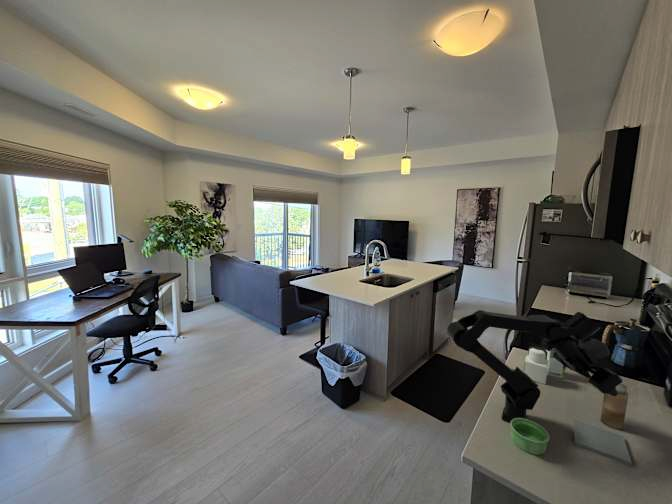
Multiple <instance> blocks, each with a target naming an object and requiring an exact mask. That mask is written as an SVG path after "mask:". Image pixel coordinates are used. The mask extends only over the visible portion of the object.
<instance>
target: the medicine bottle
mask: <svg viewBox="0 0 672 504" xmlns="http://www.w3.org/2000/svg"><path fill="white" fill-rule="evenodd" d="M525 356H526V357H525V359H524V367H523V368H524V369H523V372H524V373H526V374H527V375H528V376H529V377H530V378H531V379H532V380H533V381H534V382H535V383H540V384H542V385H546V383H547V376H548V375H547V369H548V360H547V351H546V349H545V348H543V347H541V346H529V347H528V350H527V354H526V355H525Z"/></svg>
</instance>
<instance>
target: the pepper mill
mask: <svg viewBox="0 0 672 504" xmlns="http://www.w3.org/2000/svg"><path fill="white" fill-rule="evenodd" d="M615 388H616V390H617V393H618V395H617V396H612V395H609V394H603V400H602V406H601V414H600V422H601V423H602V424H603V425H605V426H606V427H608V428H611V429H613V430H617V431H618V430H619V431H621V430H622V431H623V429H624V425H625V417H626V411H627V406H628V400H629V393H628V392H627V390H628V387H627V385H626V384H624V383H623V382H622V383H620V384H619V385H617V386H616V387H615Z"/></svg>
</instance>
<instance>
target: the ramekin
mask: <svg viewBox="0 0 672 504" xmlns="http://www.w3.org/2000/svg"><path fill="white" fill-rule="evenodd" d="M509 423H510V422H509ZM509 426H510V437H511V440H512V442H513V443H514V444H515V445H516V446H517V447H518V448H519V449H521V450H522V451H524V452H526V453H528V454H531V455H536V456H537V455H539V456H541V455H542V454H545V452H546V451H547V446H548V443H549V442H550V434H549V432H548V431H547V430H546V429H545V428H544V427H543V426H541V425H540V424H539V423H537V422H535V421H533V420H530V419H529V418H527V419H524V418H515V419H513V420H512V421H511V423H510V425H509Z"/></svg>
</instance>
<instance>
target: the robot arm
mask: <svg viewBox="0 0 672 504" xmlns="http://www.w3.org/2000/svg"><path fill="white" fill-rule="evenodd" d="M468 328H469V329H468ZM489 328H495V329H503V330H508V331H509V330H510V331H516V332H524V333H527V334H532V336H533V335H534V336H536V337H538V338H541V342H540V347H541V348H543V349H545V350H547V351H551V350H552V349H554V350H555V352H554V354H553V357H554V358H555V359H556V360H557V361H558V362H560V363H561V364H562V365H564V366H565V367H566V368H567V369H569V370H571V371H573V372H575V373H577V374H579V375H581V376H582V377H585V378H587V379H588V383H589V384H590V385H591V386H592V387H593V388H595V389H596V390H597V391H599V392H600V393H601V394H603V395H604V394H609V395H612V396H617V395H618V393H617V390H616V388H615V387H616V386H617V385H619V384H620V383H622V384H623V378H622V377H621V376H620V375H619V374H618V373H616V372H614V371H612V370H611V369H609V368H608V367H601V368H598V367H597V366H596V365H597V364H598V363H599V361H598V360H599V359H601V358H605V357H609V356H610V355H611V353H610V350H609V347H608V345H607V344H606V343H605V342H603V341H601V340H599V339H597V338H593V337H591V336H593V335H594V334H595V333H597V332H598V331H599V330H601V326H600V325H599V323H597V322H596V321H593V320H592V319H591V318H590V317H588V316H587V315H586V314H584V313H582V312H580V311H577V312H576V313H575V314H574V315H572V317H570V318H568V319H567V321H565V322H562V321H561V320H558V319H552V318H550V317H548V316H547V315H545V314H544V315H543V314H529V315H528V316H527V315H526V316H522V315H521V316H520V315H515V314H513V315H512V314H507V313H506V314H505V313H500V312H491V311H486V310H483V309H482V310H481V309H480V310H476V311H475V312H474V313H472V314H470V315H466V316H464V317H463V316H462V317H461V318H459V319H458V320H457V321H453V322H451V323H449V325H448V326H447V328H446V329H447V330H446V331H447V335H448V336H449V338H450V339H451V340H452V341H453V342H454V344H455V346H457V347H459V348H460V349H462V350H463V351H466V352H468V353H471V354H473V355H475V357H477V358H478V359H480V361H481V362H483V363H484V364H485V365H486V366H488V367H489V368H490V369H491V370H493V371H494V372H495V373H496V374H497V375H498V376H500V377H501V378H502V379H503V380H505V382H504V383H502V384H501V385H500V389H501V392H502V393H503V394H504V395H505V400H504V401H505V402H504V403H505V404H504V408H502V409H503V410H502V414H501V420H502V421H505V422H508V423H511V421H512V420H513V419H515V418H524V419H529V418H528V415H527V411H530V410H531V411H532V410H533V409H534V408H535V406H536V404H537V402H538V400H539V398H540V396H541V389H540V388H539V384H538V382H536V381H533V380H532V379H531V378H530V377H529V376H528V375H527V374H526V373H524V370H521V368H519V367H518V366H516V367H515V369H513V368H511V367H509V366H508V365H507V364H506V363H505V362H504V361H502V360H501V359H500V358H499V357H497V356H496V354H494V353H493V352H492V351H490V350H489V349H488V348H486V346H484V345H483V344H482V343H481V342H480V341H479V339H480V337H481V336H482V335H483V334H484V332H485V331H486V330H487V329H489ZM573 339H574V340H575V341H577V343H578V344H577V343H576V342H575V341H574V340H573Z"/></svg>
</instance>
